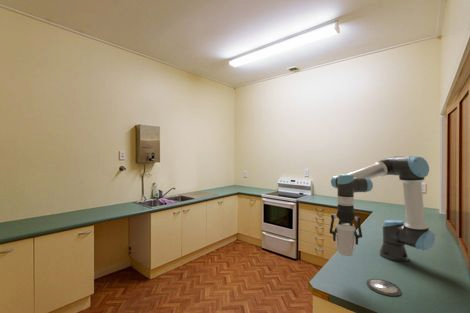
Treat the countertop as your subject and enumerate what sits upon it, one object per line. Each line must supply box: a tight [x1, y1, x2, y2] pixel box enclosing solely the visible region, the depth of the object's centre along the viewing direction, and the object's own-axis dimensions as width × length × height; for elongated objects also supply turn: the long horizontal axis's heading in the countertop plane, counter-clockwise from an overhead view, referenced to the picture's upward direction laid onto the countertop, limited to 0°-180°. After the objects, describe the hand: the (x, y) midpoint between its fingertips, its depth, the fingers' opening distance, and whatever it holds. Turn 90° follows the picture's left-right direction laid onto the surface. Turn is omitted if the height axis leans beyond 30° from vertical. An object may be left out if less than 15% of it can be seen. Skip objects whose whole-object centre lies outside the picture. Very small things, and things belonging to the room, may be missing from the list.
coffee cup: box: [335, 222, 357, 257], centre depth 116 cm, size 10×10×15 cm
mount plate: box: [366, 278, 402, 297], centre depth 109 cm, size 14×14×1 cm
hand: (345, 248), depth 116 cm, fingers closed on coffee cup, 8 cm apart
